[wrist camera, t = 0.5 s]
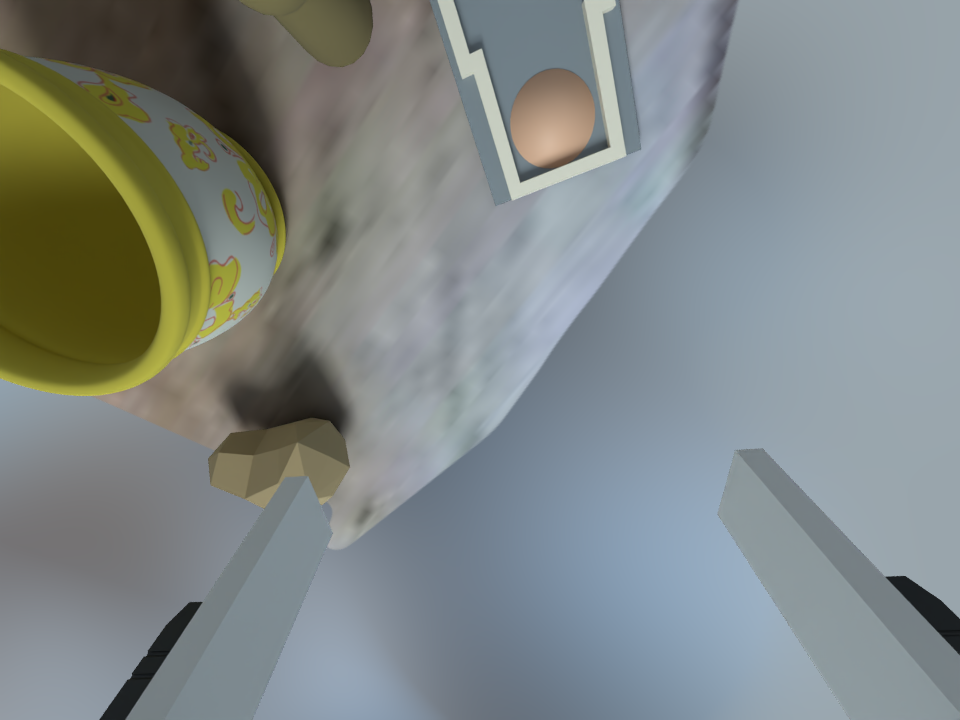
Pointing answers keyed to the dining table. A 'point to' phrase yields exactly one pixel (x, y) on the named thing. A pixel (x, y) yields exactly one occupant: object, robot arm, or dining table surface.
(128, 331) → the flowerpot
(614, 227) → the dining table surface
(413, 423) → the dining table surface
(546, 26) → the grey shallow tray
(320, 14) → the cork
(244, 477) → the low-poly potato
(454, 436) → the dining table surface
